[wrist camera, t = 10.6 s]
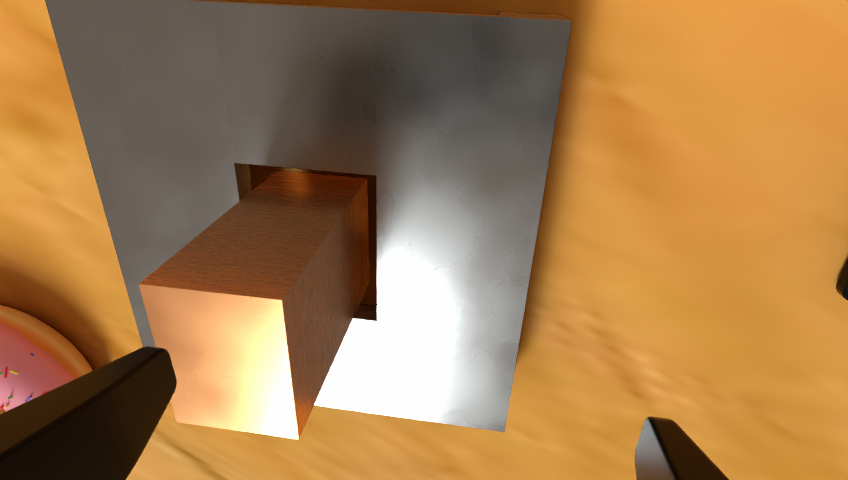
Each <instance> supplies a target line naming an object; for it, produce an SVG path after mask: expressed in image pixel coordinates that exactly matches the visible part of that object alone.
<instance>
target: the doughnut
mask: <svg viewBox="0 0 848 480" xmlns="http://www.w3.org/2000/svg"><path fill="white" fill-rule="evenodd" d="M91 371H93V370H92V368H91V366H90V365H89V363H88V362H87V361H86V359H85V358H84V357H83V355H82V354H81V353H80V352H79V351H78V350H77V348H76V347H75V346H74V345H73V344H72V343H70V342H69V341H68V340H67V339H66V338H65V337H64V336H62V335H61V334H60V333H59V332H57V331H56V330H55V329H53V328H52V327H50V326H49V325H47V324H45V323H44V322H42V321H40V320H38V319H37V318H35V317H33V316H31V315H28V314H26V313H24V312H21V311H19V310H16V309H13V308H10V307H6V306H3V305H0V414H2V413H4V412H6V411H8V410H10V409H12V408H14V407H17V406H19V405H21V404H23V403H25V402H27V401H29V400H32V399H34V398H36V397H38V396H40V395H42V394H44V393H46V392H49V391H51V390H53V389H55V388H57V387H59V386H61V385H64V384H66V383H68V382H70V381H72V380H74V379H76V378H78V377H81V376H83V375H85V374H87V373H89V372H91Z"/></svg>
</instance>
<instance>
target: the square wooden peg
mask: <svg viewBox="0 0 848 480" xmlns="http://www.w3.org/2000/svg"><path fill="white" fill-rule="evenodd" d="M368 284H369V236H368V188H367V178H358V177H346V176H334V175H322V174H310V173H298V172H286V171H275V172H274V173H273V174H272V175H271V176H269V177H268V178H267V179H266V180H264V181H263V182H262V183H261V184H260V185H258V186H257V187H256V188H255V189H254V190H252V191H251V192H250V193H249V194H247V195H246V196H245V197H244V198H243V199H241V200H240V201H239V202H238V203H236V204H235V205H234V206H233V207H232V208H230V209H229V210H228V211H227V212H226V213H224V214H223V215H222V216H221V217H219V218H218V219H217V220H216V221H215V222H213V223H212V224H211V225H210V226H209V227H207V228H206V229H205V230H204V231H202V232H201V233H200V234H199V235H198V236H196V237H195V238H194V239H193V240H192V241H190V242H189V243H188V244H187V245H185V246H184V247H183V248H182V249H181V250H179V251H178V252H177V253H176V254H174V255H173V256H172V257H171V258H170V259H168V260H167V261H166V262H165V263H164V264H162V265H161V266H160V267H159V268H157V269H156V270H155V271H154V272H153V273H151V274H150V275H149V276H148V277H147V278H145V279H144V280H143V281H142V282H140V283H139V288H140V291H141V295H142V299H143V302H144V306H145V309H146V313H147V317H148V320H149V324H150V327H151V331H152V335H153V338H154V342H155V346H156V347H159V348H165V349H167V350H168V352H169V353H170V356H171V360H172V363H173V367H174V371H175V374H176V378H177V385H176V389H175V392H174V394H173V396H172V398H171V403H172V407H173V411H174V414H175V418H176V422H181V423H188V424H195V425H202V426H209V427H216V428H223V429H230V430H237V431H244V432H251V433H258V434H265V435H272V436H278V437H285V438H292V439H299V437H300V435H301V433H302V431H303V428H304V426H305V424H306V422H307V419H308V417H309V415H310V413H311V411H312V408H313V406H314V404H315V402H316V399H317V397H318V395H319V393H320V391H321V388H322V386H323V384H324V382H325V379H326V377H327V375H328V373H329V371H330V368H331V366H332V364H333V362H334V359H335V357H336V355H337V353H338V351H339V348H340V346H341V344H342V342H343V339H344V337H345V335H346V333H347V331H348V328H349V326H350V324H351V322H352V319H353V317H354V315H355V313H356V311H357V308H358V306H359V304H360V302H361V299H362V297H363V295H364V293H365V291H366V288H367V286H368Z"/></svg>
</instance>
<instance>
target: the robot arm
mask: <svg viewBox="0 0 848 480" xmlns="http://www.w3.org/2000/svg"><path fill="white" fill-rule="evenodd" d="M836 290H837V292H838V293H839V294H840V295H842V296H843V297H844V298H845V299H846V300H848V262H847V264H846V266H845V268H844V270H843V272H842V274H841V276H840V278H839V280H838V282H837V285H836ZM176 385H177V378H176V374H175V371H174V367H173V363H172V360H171V356H170V353H169V352H168V350H167V349H165V348H159V347H152V346H146V347H143V348H140V349H138V350H136V351H134V352H132V353H130V354H128V355H125V356H123V357H121V358H119V359H117V360H115V361H113V362H110V363H108V364H106V365H104V366H102V367H100V368H98V369H96V370H93V371H91V372H89V373H87V374H85V375H83V376H81V377H78V378H76V379H74V380H72V381H70V382H68V383H66V384H64V385H61V386H59V387H57V388H55V389H53V390H51V391H49V392H46V393H44V394H42V395H40V396H38V397H36V398H34V399H32V400H29V401H27V402H25V403H23V404H21V405H19V406H17V407H14V408H12V409H10V410H8V411H6V412H4V413H2V414H0V480H126V478H127V477H128V475H129V474H130V472H131V471H132V469H133V467H134V466H135V464H136V463H137V461H138V459H139V457H140V456H141V454H142V452H143V450H144V448H145V447H146V445H147V443H148V441H149V439H150V437H151V435H152V433H153V432H154V430H155V428H156V426H157V424H158V422H159V420H160V419H161V417H162V415H163V413H164V411H165V409H166V407H167V405H168V404H169V402H170V400H171V398H172V396H173V394H174V392H175V389H176ZM635 468H636V476H637V480H729V479H728V478H727V477H726V476H725V475H724V474H723V473H722V472H721V470H720V469H719V468H718V467H717V466H716V465H715V464H714V463H713V462H712V461H711V460H710V459H709V458H708V457H707V455H706V454H705V453H704V452H703V451H702V450H701V449H700V448H699V447H698V446H697V445H696V444H695V443H694V442H693V441H692V439H691V438H690V437H689V436H688V435H687V434H686V433H685V432H684V431H683V430H682V429H681V428H680V427H679V426H678V424H677V423H675V422H674V421H673V420H671V419H665V418H658V417H648V418H646V420H645V422H644V424H643V427H642V430H641V433H640V437H639V440H638V443H637V446H636V449H635Z"/></svg>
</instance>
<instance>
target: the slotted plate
mask: <svg viewBox="0 0 848 480" xmlns="http://www.w3.org/2000/svg"><path fill="white" fill-rule="evenodd" d="M45 2H46V6H47V9H48V13H49V16H50V20H51V24H52V27H53V31H54V34H55V38H56V41H57V45H58V48H59V52H60V55H61V59H62V62H63V66H64V69H65V73H66V77H67V80H68V84H69V87H70V91H71V94H72V98H73V101H74V105H75V108H76V112H77V115H78V119H79V122H80V126H81V130H82V133H83V137H84V140H85V144H86V147H87V151H88V154H89V158H90V161H91V165H92V168H93V172H94V175H95V179H96V183H97V186H98V190H99V193H100V197H101V200H102V204H103V207H104V211H105V214H106V218H107V221H108V225H109V228H110V232H111V236H112V239H113V243H114V246H115V250H116V253H117V257H118V260H119V264H120V267H121V271H122V274H123V278H124V281H125V285H126V289H127V292H128V296H129V299H130V303H131V306H132V310H133V313H134V317H135V320H136V324H137V327H138V331H139V334H140V338H141V342H142V345H143V347H146V346H152V347H156V346H155V342H154V338H153V335H152V331H151V327H150V324H149V320H148V317H147V313H146V309H145V306H144V302H143V299H142V295H141V291H140V288H139V283H140V282H142V281H143V280H144V279H145V278H147V277H148V276H149V275H150V274H151V273H153V272H154V271H155V270H156V269H157V268H159V267H160V266H161V265H162V264H164V263H165V262H166V261H167V260H168V259H170V258H171V257H172V256H173V255H174V254H176V253H177V252H178V251H179V250H181V249H182V248H183V247H184V246H185V245H187V244H188V243H189V242H190V241H192V240H193V239H194V238H195V237H196V236H198V235H199V234H200V233H201V232H202V231H204V230H205V229H206V228H207V227H209V226H210V225H211V224H212V223H213V222H215V221H216V220H217V219H218V218H219V217H221V216H222V215H223V214H224V213H226V212H227V211H228V210H229V209H230V208H232V207H233V206H234V205H235V204H236V203H238V202H239V201H240V200H241V199H243V198H244V197H245V196H246V195H247V194H249V193H250V192H251V191H252V187H251V179H250V172H249V164H253V165H264V166H275V167H286V168H297V169H309V170H320V171H331V172H342V173H354V174H365V175H376V188H377V306H373V305H365V304H359V306H358V308H357V311H356V313H355V315H354V317H353V319H352V322H351V324H350V326H349V328H348V331H347V333H346V335H345V337H344V339H343V342H342V344H341V346H340V348H339V351H338V353H337V355H336V357H335V359H334V362H333V364H332V366H331V368H330V371H329V373H328V375H327V377H326V379H325V382H324V384H323V386H322V388H321V391H320V393H319V395H318V397H317V399H316V402H315V404H314V405H316V406H323V407H331V408H338V409H345V410H352V411H359V412H366V413H373V414H380V415H387V416H394V417H401V418H408V419H415V420H423V421H430V422H437V423H444V424H451V425H458V426H465V427H472V428H479V429H486V430H493V431H500V432H504V431H505V425H506V419H507V413H508V407H509V401H510V395H511V389H512V383H513V377H514V371H515V365H516V358H517V352H518V346H519V340H520V334H521V328H522V322H523V316H524V310H525V304H526V298H527V292H528V285H529V279H530V273H531V267H532V261H533V255H534V249H535V243H536V237H537V231H538V225H539V218H540V212H541V206H542V200H543V194H544V188H545V182H546V176H547V170H548V164H549V158H550V152H551V145H552V139H553V133H554V127H555V121H556V115H557V109H558V103H559V97H560V91H561V85H562V79H563V72H564V66H565V60H566V54H567V48H568V42H569V36H570V30H571V24H572V21H571V20H570V19H568V18H566V17H564V16H562V15H555V14H536V13H517V12H499V15H491V14H472V13H453V12H434V11H415V10H396V9H377V8H358V7H339V6H320V5H301V4H282V3H263V2H244V1H225V0H45Z"/></svg>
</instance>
